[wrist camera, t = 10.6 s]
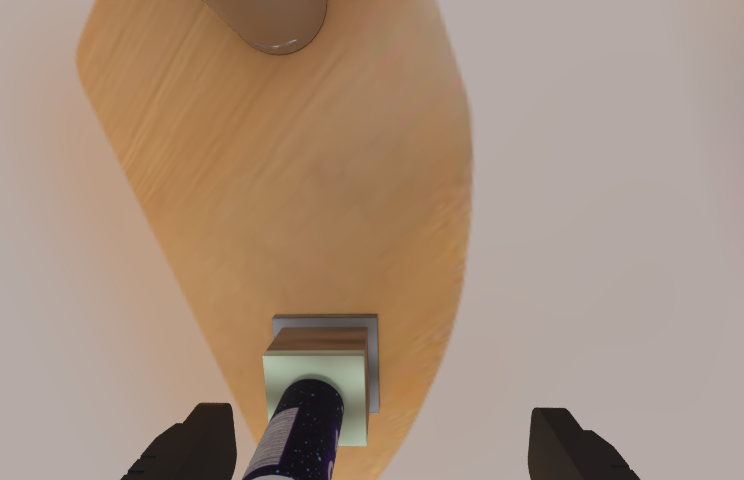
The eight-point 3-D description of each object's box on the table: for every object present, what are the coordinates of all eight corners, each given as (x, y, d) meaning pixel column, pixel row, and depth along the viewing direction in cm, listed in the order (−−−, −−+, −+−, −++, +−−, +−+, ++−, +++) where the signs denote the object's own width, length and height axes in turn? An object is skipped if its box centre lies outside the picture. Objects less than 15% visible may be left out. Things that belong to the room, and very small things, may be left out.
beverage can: (290, 432, 33) (236, 577, 21) (276, 377, 32) (211, 496, 20) (350, 424, 33) (329, 567, 21) (338, 368, 32) (308, 485, 20)
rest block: (275, 315, 38) (250, 345, 32) (377, 314, 38) (374, 345, 31) (282, 406, 40) (260, 454, 34) (379, 407, 40) (377, 455, 33)
